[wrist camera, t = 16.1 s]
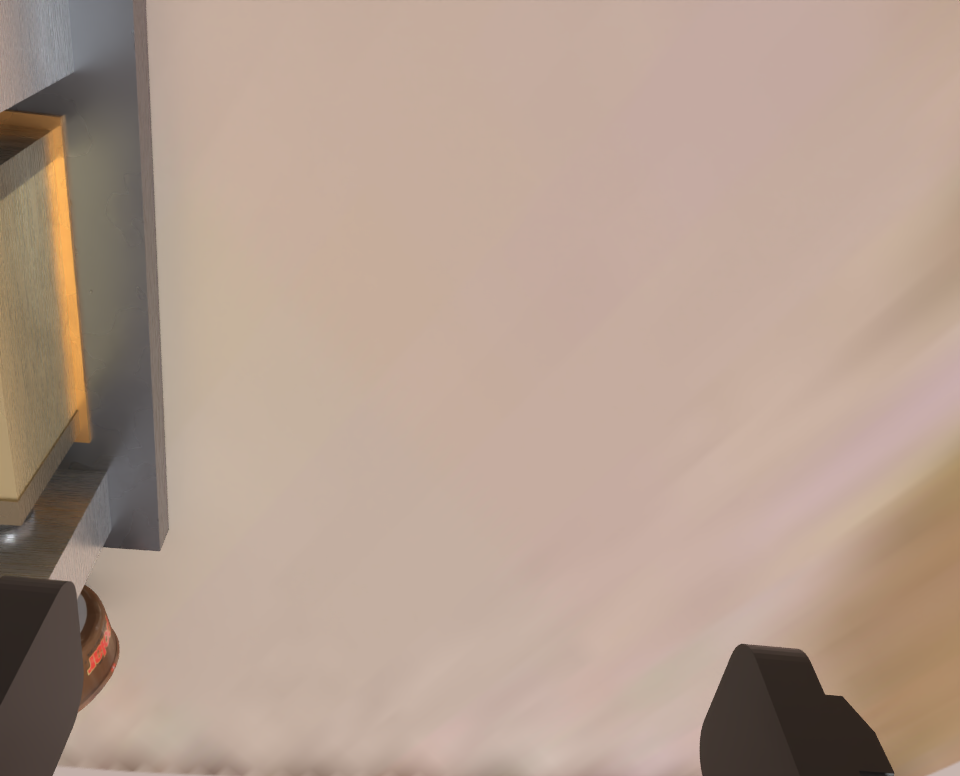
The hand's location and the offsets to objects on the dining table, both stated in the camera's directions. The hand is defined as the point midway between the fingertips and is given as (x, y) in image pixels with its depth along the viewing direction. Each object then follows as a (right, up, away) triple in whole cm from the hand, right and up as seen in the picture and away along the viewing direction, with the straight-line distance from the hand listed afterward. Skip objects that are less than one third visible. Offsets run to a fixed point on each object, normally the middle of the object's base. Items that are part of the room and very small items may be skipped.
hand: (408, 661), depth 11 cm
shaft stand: (-17, +8, +24) cm, 30 cm away
